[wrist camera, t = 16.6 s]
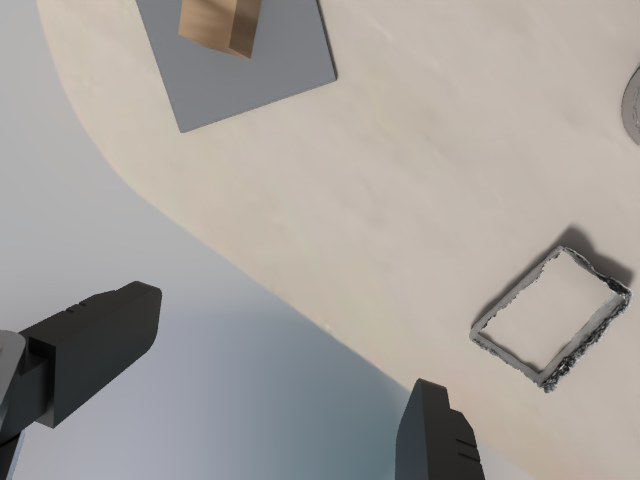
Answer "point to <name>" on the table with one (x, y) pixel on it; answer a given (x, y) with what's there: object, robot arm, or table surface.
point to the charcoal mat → (238, 61)
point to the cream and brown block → (221, 24)
